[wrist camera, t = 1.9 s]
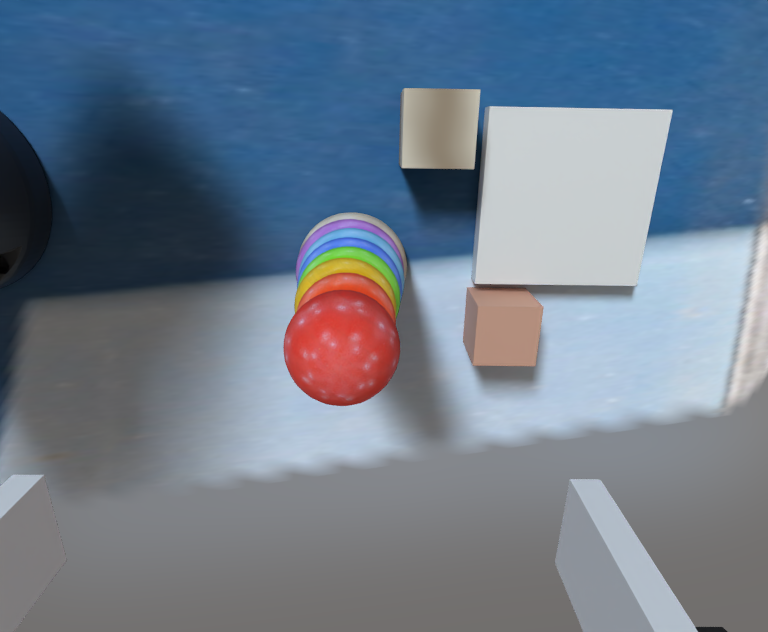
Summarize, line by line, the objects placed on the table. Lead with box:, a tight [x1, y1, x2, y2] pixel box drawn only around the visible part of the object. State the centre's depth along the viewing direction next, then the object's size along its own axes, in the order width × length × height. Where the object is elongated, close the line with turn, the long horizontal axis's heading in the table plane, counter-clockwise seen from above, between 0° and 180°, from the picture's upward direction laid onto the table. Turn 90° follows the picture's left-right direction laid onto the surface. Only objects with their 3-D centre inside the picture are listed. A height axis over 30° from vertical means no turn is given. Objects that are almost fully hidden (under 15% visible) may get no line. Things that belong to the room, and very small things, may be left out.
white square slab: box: [471, 106, 673, 286], centre depth 35 cm, size 12×12×2 cm
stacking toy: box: [284, 213, 407, 406], centre depth 28 cm, size 8×8×19 cm
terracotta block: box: [463, 287, 543, 366], centre depth 36 cm, size 4×4×4 cm
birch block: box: [399, 88, 480, 169], centre depth 32 cm, size 4×4×4 cm
